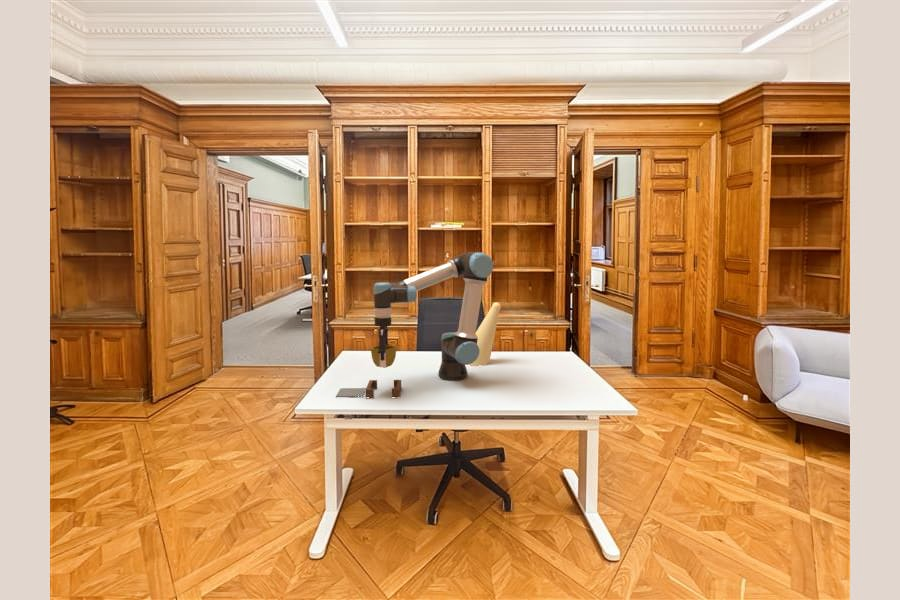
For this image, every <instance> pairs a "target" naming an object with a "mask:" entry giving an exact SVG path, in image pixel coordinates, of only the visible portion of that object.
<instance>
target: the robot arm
mask: <svg viewBox="0 0 900 600" xmlns="http://www.w3.org/2000/svg"><path fill="white" fill-rule="evenodd" d="M493 270H494V263H493V260H492V258H491V257H490V256H489V254H486V253H484V252H477V251H476V252H475V251H474V252H473V251H468V252H464V253H461V254H459V255H457V256H456V257H453V258H450V259H448V261H447V262H446V263H443V264H440V265H438V266H436V267H433V268H431V269H428V270H426V271H423V272H420V273H418V274H416V275H413V276H411V277H408V278H406V279H403V280H400V281H398V282H391V283H390V282H383V281H382V282H375V283H374V286H373V305H374V309H373V310H372V312H374V326H376V327H379V329H378V346H379V351H378V353H379V356H380V367H379V368H383V367H386V353H385V345H390V343H389V338H388V335H389V328H388V327H389V326H392V317H391V316H392V304H399V303H400V304H402V303H414V302H416V300H417V298H418V293H417V292H419V291H421V290H423V289H425V288H429V287H431V286H434V285H436V284H439V283H441V282H444V281H446V280H449V279H451V278H458V277H463V278H462V280H463V281H464V285H465V286H464V290H463V291H464V292H463V297H462V304H461V310H460V315H459V321H458V322H459V323H458V324H459V325H458V329H457V331H454V332H453V331H452V332H445V333H442V335H441V340H440V341H441V362H440V366H439V370H438V373H437V375H438V376H439V377H440V378H439V377H438V378H439V379H441V378H442V379H441V380H444V379H446V380H445V381H462V380H465V379H468V377H469V376H468V370H467V366H465V365H468V364H471V363H473V362H474V361H476V360H477V358H478V356H479V352H480V351H479V347H478V345H477V340H478V337H477V335H476V331H477V328H478V327H477V326H478V319H479V313H480V307H481V300H482V295H483V290H484V288H483V287H484V285H486V283H487V282H488V278H489V276H490V275H491V274H492V273H493ZM386 368H387V367H386ZM461 379H462V380H461Z"/></svg>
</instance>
